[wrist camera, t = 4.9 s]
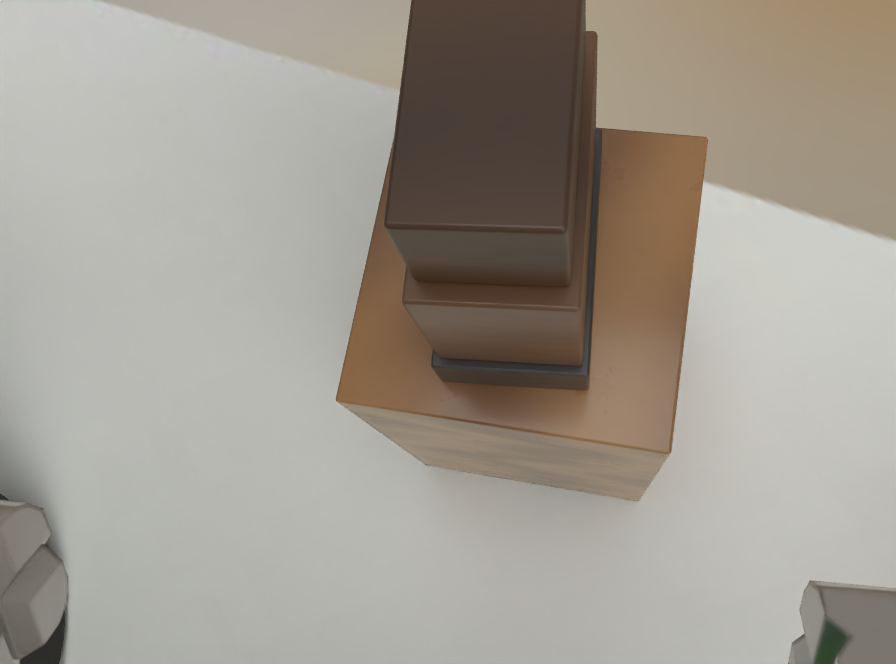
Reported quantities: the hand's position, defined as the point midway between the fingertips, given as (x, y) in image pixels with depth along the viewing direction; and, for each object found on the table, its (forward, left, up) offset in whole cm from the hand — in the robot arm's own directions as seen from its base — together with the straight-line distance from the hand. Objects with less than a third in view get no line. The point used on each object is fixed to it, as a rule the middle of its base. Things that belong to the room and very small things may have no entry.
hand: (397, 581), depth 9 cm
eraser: (-1, +7, -10) cm, 13 cm away
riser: (-1, +7, -22) cm, 23 cm away
